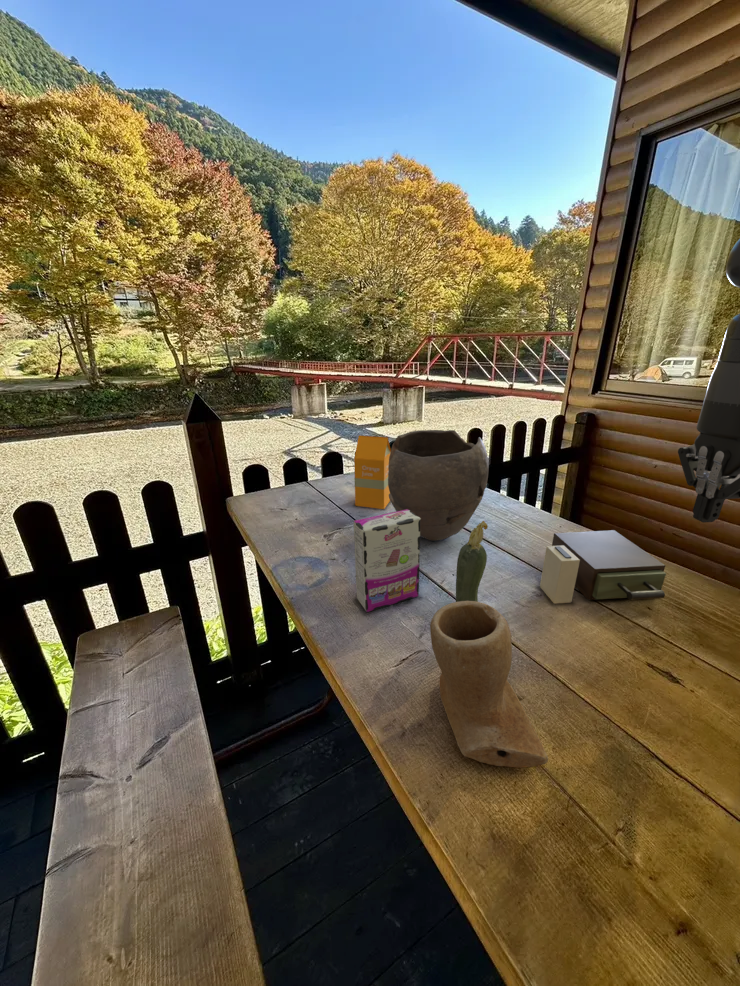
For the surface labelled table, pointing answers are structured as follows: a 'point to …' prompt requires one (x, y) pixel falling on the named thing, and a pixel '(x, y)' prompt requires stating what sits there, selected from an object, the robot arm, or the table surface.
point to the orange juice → (372, 472)
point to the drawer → (630, 584)
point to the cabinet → (603, 556)
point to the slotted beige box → (559, 574)
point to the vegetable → (471, 566)
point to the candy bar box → (387, 558)
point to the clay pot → (437, 479)
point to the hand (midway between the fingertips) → (703, 519)
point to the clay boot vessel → (482, 686)
